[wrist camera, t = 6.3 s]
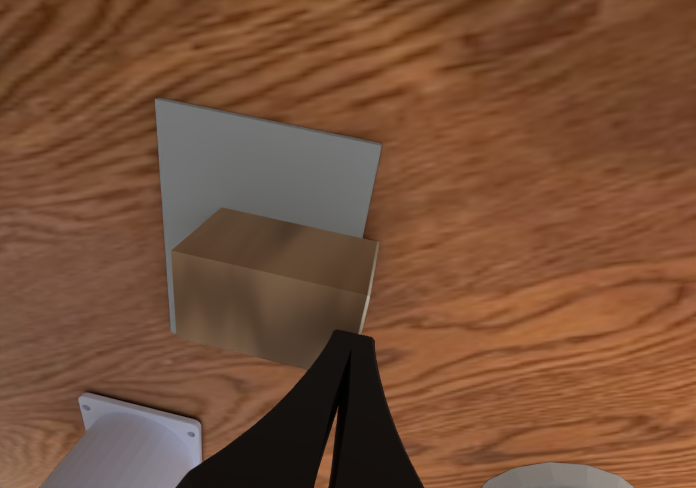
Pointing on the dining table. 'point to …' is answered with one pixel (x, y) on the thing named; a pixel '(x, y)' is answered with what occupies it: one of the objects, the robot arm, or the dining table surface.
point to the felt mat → (257, 173)
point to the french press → (557, 477)
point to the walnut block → (270, 286)
